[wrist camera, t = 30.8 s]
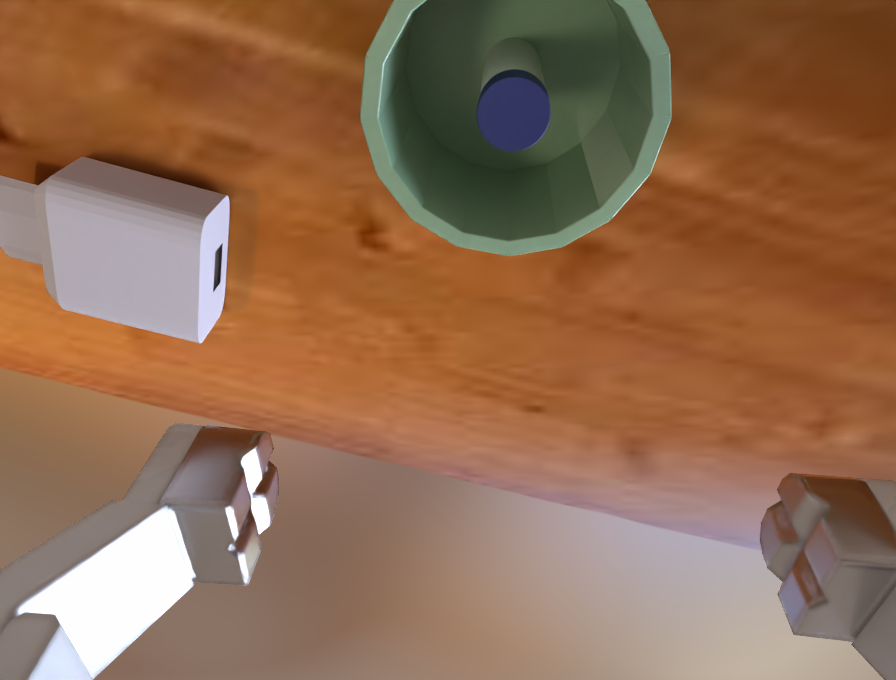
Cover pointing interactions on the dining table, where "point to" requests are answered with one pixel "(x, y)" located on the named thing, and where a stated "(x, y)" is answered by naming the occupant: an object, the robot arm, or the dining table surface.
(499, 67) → the glue stick
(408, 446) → the dining table surface
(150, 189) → the charger
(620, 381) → the dining table surface
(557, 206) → the tin
